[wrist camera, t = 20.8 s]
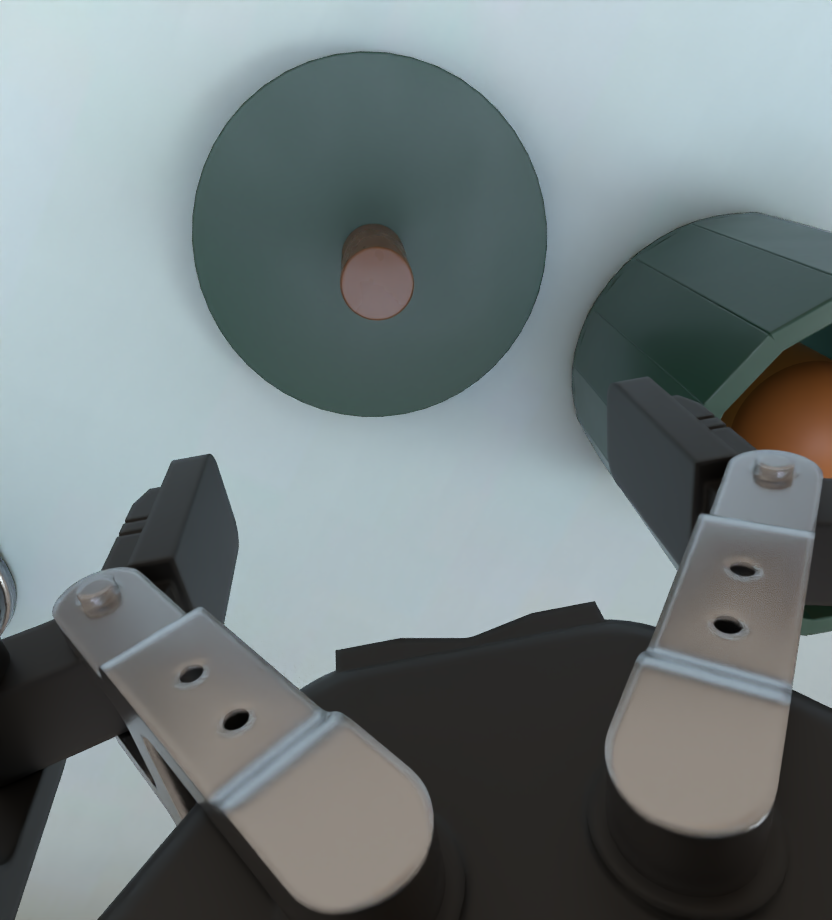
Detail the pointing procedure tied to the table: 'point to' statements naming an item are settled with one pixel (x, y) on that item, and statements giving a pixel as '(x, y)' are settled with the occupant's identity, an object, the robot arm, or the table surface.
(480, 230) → the lid
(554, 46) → the table surface
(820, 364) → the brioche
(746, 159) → the table surface
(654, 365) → the pot
